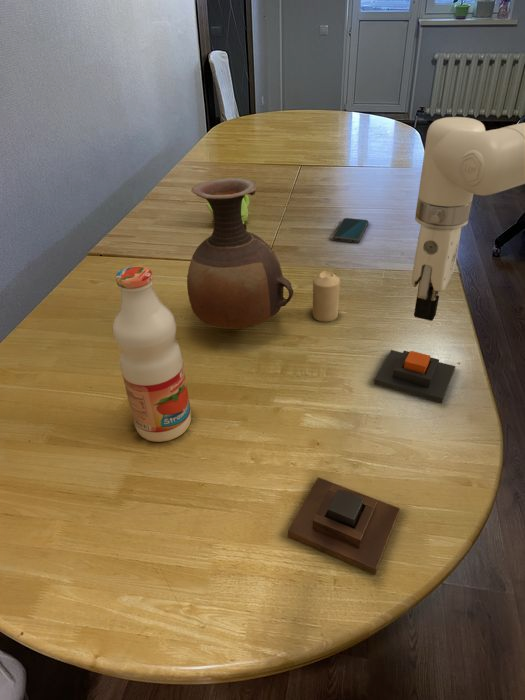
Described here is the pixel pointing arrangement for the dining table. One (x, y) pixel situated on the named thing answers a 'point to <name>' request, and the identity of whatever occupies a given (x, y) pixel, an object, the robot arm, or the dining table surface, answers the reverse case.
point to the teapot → (243, 208)
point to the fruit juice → (150, 358)
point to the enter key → (417, 362)
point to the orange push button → (415, 377)
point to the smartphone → (350, 230)
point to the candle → (325, 296)
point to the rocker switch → (345, 508)
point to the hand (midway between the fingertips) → (424, 316)
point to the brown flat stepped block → (345, 527)
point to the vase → (233, 264)
